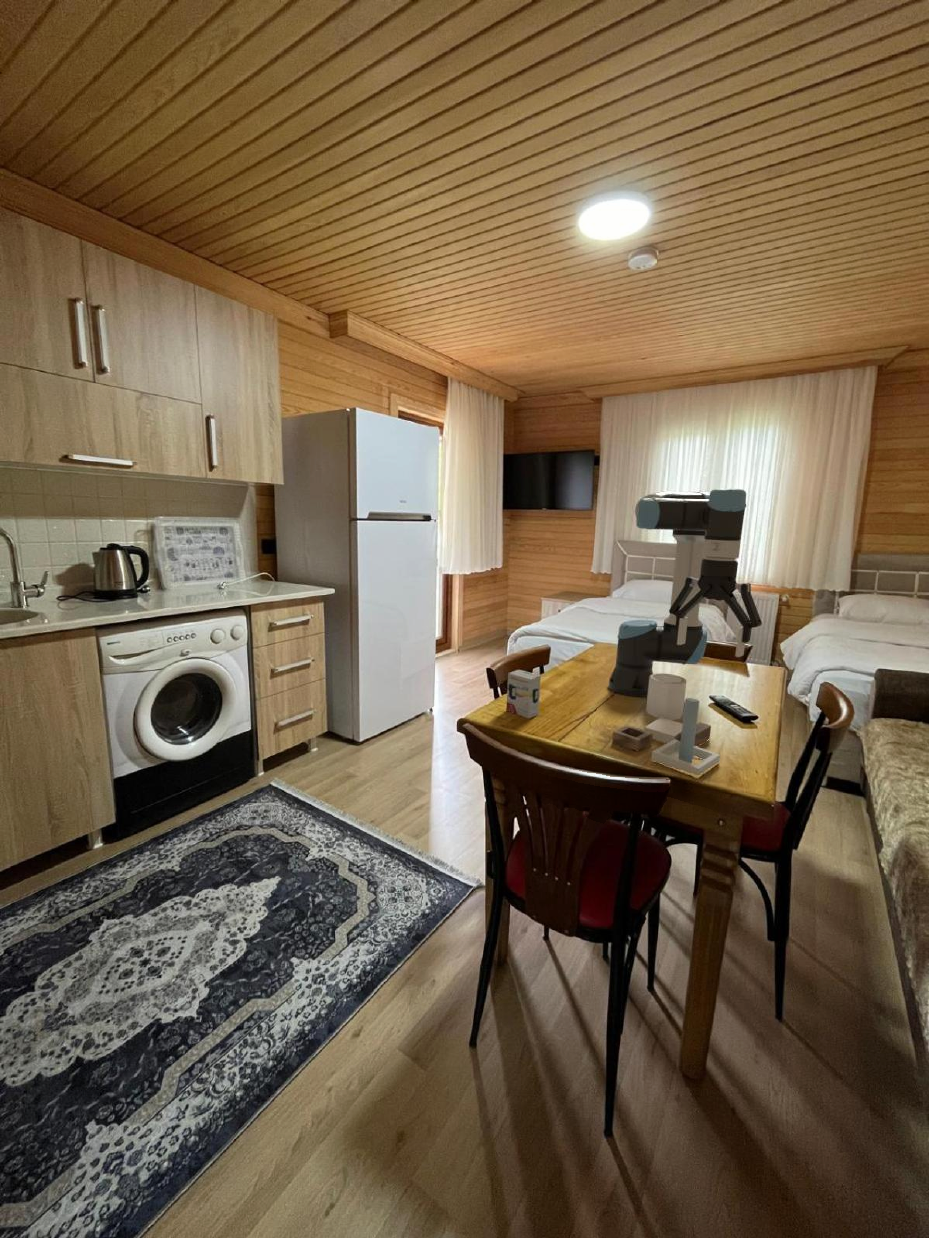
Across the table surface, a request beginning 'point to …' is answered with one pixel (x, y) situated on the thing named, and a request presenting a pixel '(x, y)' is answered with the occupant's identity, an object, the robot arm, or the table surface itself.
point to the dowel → (688, 729)
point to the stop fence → (700, 733)
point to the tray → (669, 758)
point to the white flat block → (664, 730)
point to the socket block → (632, 737)
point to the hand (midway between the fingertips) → (709, 649)
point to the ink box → (523, 693)
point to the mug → (666, 696)
